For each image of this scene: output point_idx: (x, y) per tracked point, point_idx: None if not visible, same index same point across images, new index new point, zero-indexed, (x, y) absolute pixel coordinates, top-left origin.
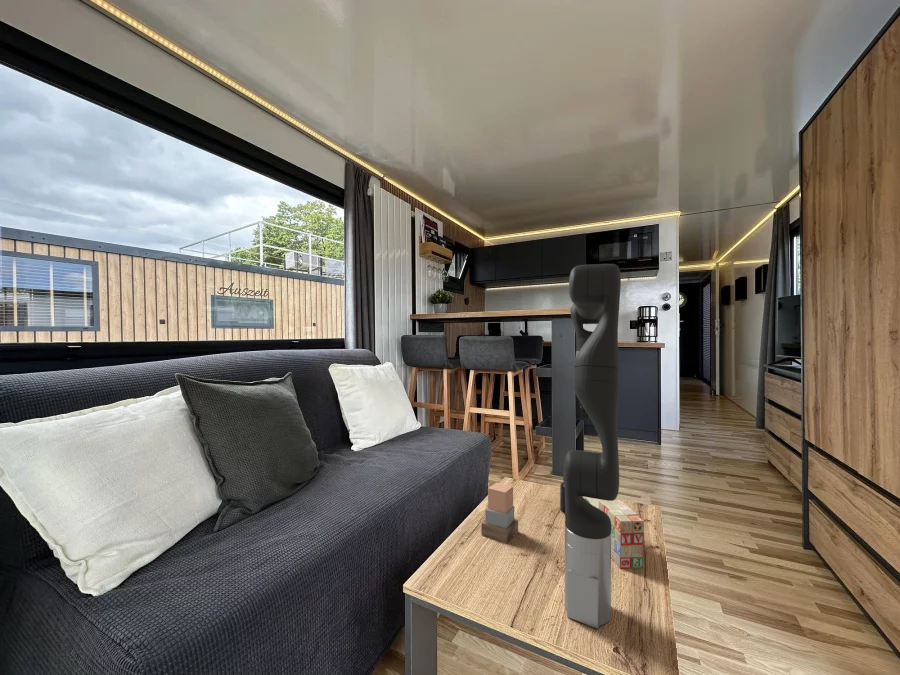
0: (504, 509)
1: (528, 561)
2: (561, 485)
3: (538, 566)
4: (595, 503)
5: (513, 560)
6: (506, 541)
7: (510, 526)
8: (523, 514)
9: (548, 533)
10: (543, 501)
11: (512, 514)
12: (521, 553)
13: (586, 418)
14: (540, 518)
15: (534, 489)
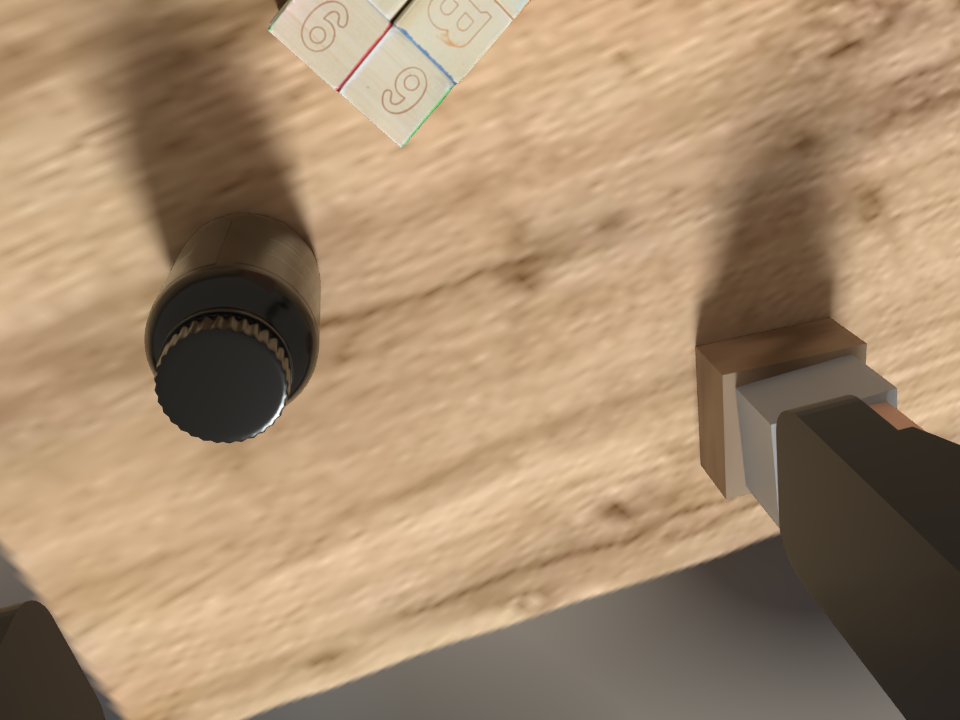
0: (899, 416)
1: (915, 156)
2: (297, 395)
3: (930, 98)
4: (457, 28)
5: (941, 211)
6: (835, 321)
7: (816, 356)
8: (503, 437)
9: (609, 229)
10: (257, 461)
11: (784, 397)
12: (869, 219)
13: (937, 438)
14: (479, 351)
15: (141, 590)
